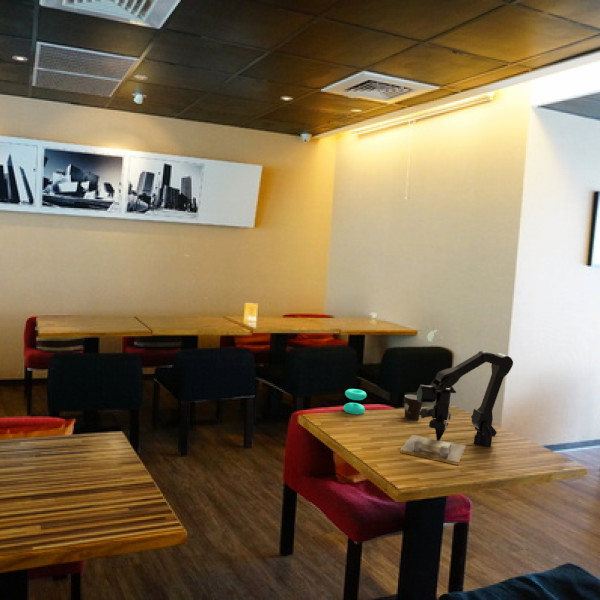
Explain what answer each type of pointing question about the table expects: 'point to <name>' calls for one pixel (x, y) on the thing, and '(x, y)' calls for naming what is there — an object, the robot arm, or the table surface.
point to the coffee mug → (412, 407)
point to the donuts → (355, 407)
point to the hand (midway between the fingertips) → (438, 440)
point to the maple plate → (433, 445)
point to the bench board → (416, 447)
